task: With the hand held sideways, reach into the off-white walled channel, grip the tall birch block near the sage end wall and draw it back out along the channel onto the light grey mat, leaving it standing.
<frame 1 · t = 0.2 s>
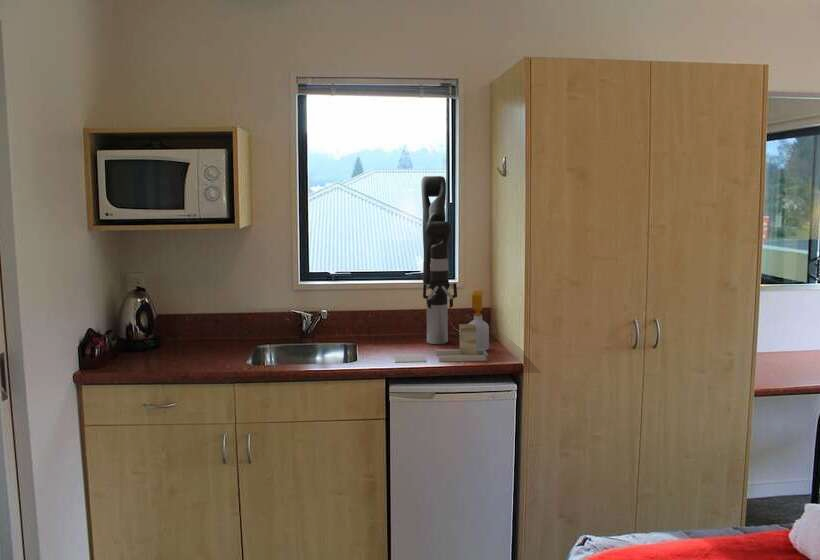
hand: (440, 308, 268), 17 cm above the table, tool pointing down, fingers open, 8 cm apart
soap bottle: (477, 349, 269), on the table
walled channel: (462, 357, 255), on the table
birch block: (467, 357, 255), resting in walled channel
grey mat: (409, 358, 254), on the table
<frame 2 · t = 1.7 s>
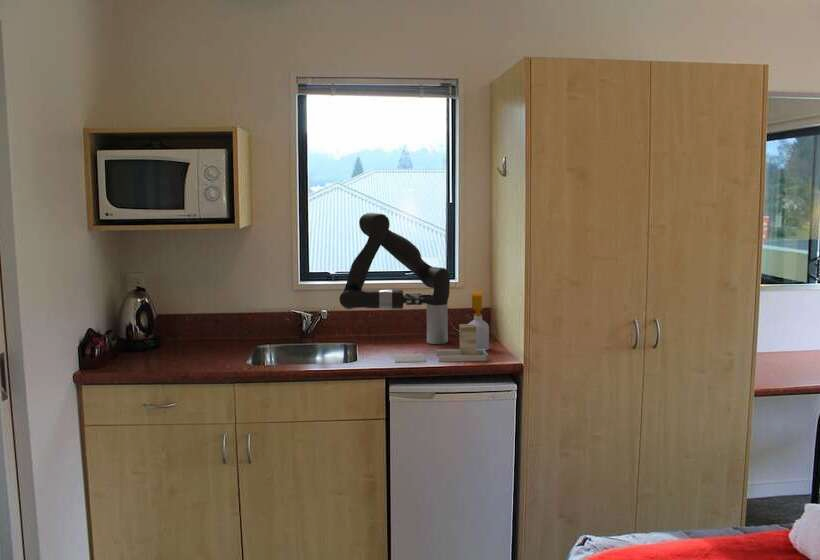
hand: (432, 298, 252), 24 cm above the table, tool horizontal, fingers open, 8 cm apart
nothing on the table moved.
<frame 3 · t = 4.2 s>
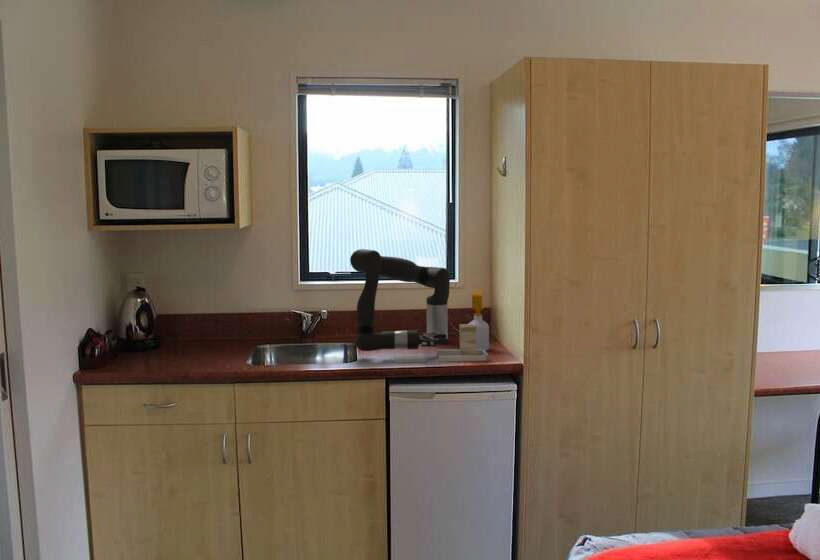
hand: (447, 339, 254), 8 cm above the table, tool horizontal, fingers open, 8 cm apart
nothing on the table moved.
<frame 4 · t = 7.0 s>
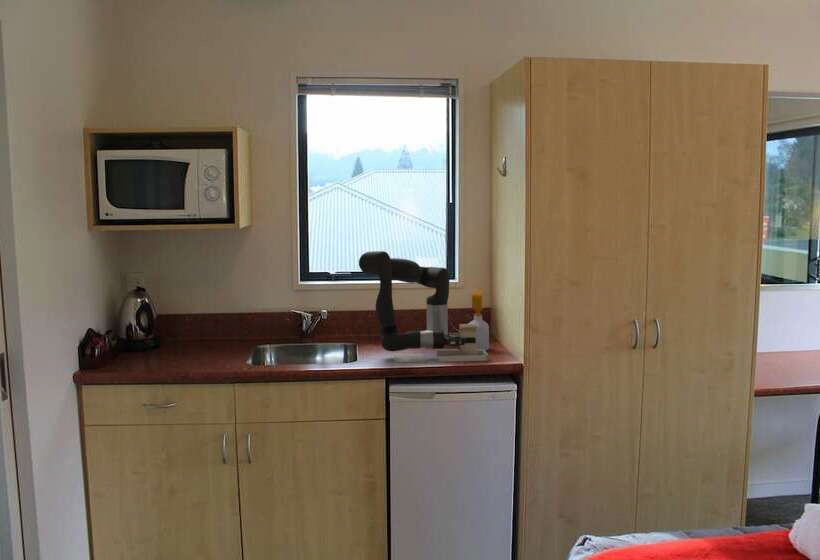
hand: (474, 338, 254), 8 cm above the table, tool horizontal, fingers closed on birch block, 5 cm apart
birch block: (467, 357, 255), resting in walled channel, touching gripper
everything else where it was.
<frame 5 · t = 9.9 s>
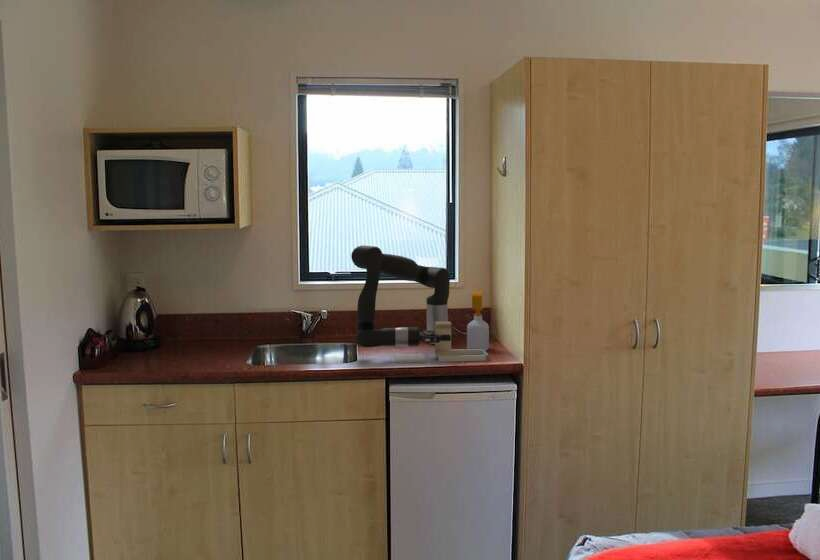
hand: (449, 336, 254), 9 cm above the table, tool horizontal, fingers closed on birch block, 5 cm apart
birch block: (442, 354, 255), point 1 cm above the table, touching gripper
everything else where it was.
when the fingers open (8 cm above the table, at t = 13.1 s): birch block stays where it is, resting on grey mat.
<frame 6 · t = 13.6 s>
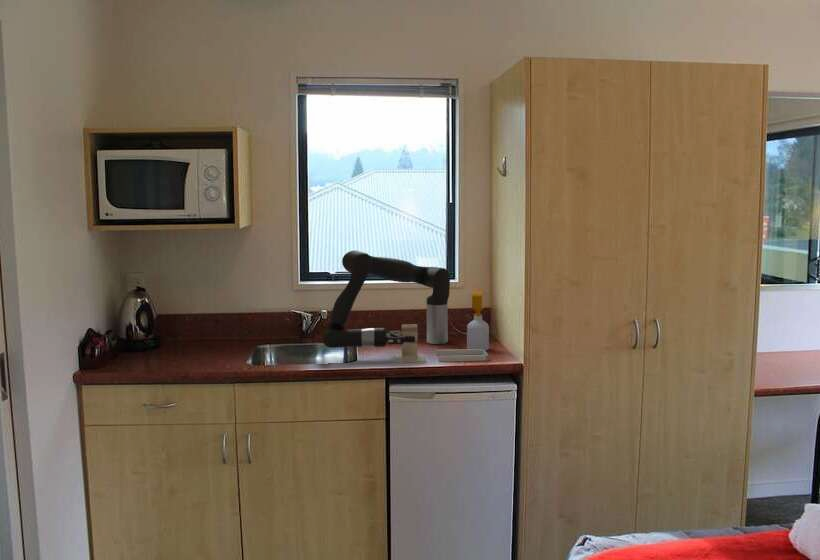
hand: (414, 336, 253), 9 cm above the table, tool horizontal, fingers open, 8 cm apart
birch block: (409, 357, 254), resting on grey mat
everything else where it was.
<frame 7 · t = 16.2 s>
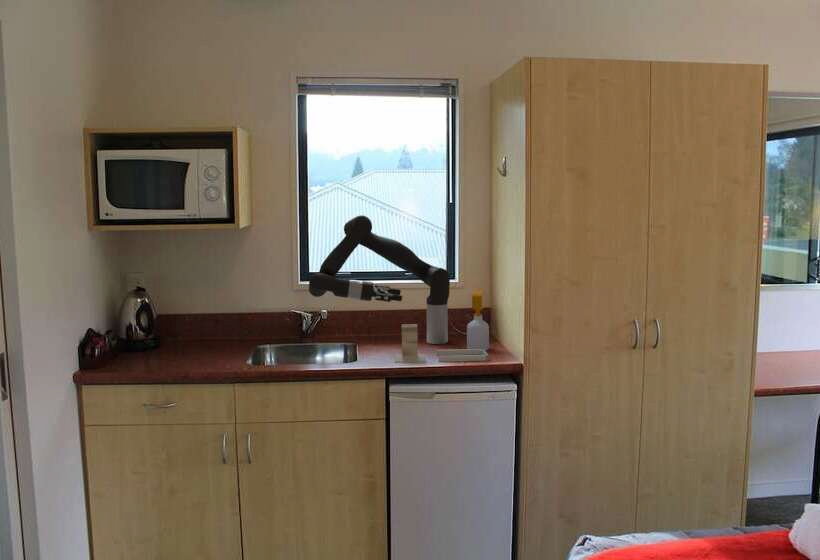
hand: (401, 295, 252), 25 cm above the table, tool horizontal, fingers open, 8 cm apart
nothing on the table moved.
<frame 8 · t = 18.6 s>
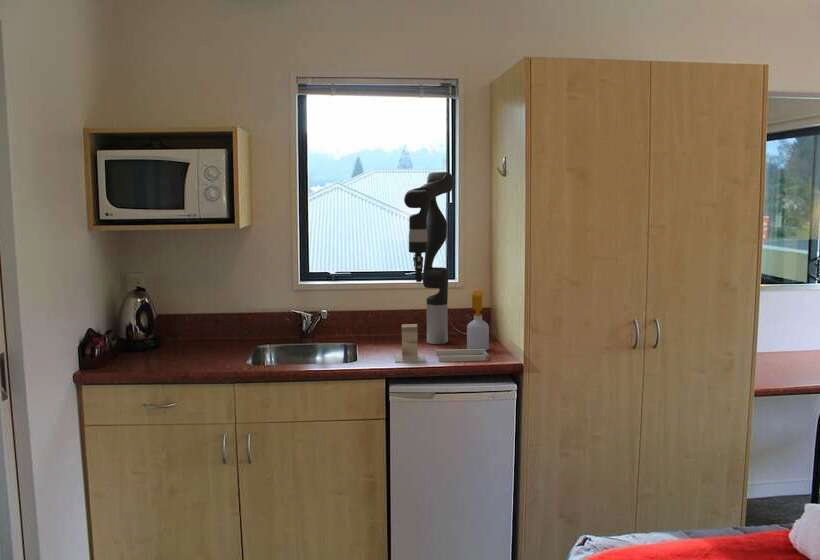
hand: (418, 280, 259), 30 cm above the table, tool pointing down, fingers open, 8 cm apart
nothing on the table moved.
at the end: birch block inside the target area (0.0 cm from its centre), resting on grey mat; birch block tilted 0°; the gripper is holding nothing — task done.
